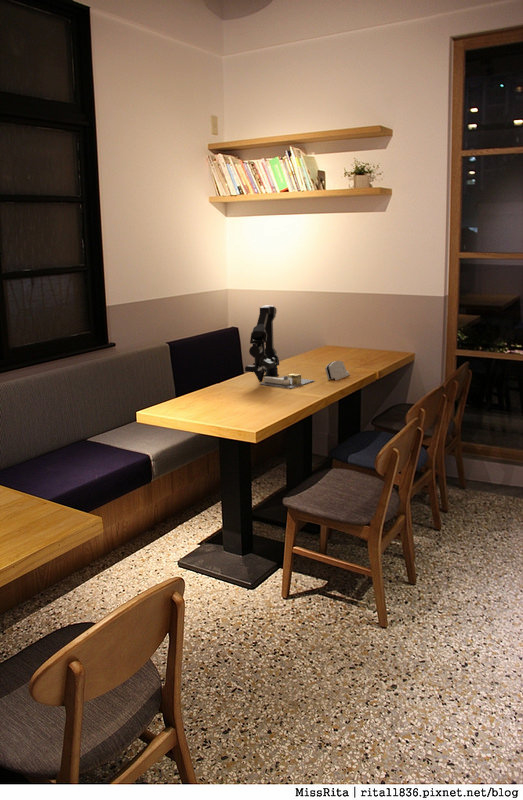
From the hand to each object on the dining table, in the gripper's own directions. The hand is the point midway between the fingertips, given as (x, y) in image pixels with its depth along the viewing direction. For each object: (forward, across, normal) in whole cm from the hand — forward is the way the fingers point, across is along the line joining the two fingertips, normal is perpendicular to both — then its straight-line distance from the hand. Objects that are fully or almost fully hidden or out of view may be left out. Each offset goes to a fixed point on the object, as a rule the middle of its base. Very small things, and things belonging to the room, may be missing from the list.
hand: (260, 382), depth 368 cm
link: (+1, +6, -7) cm, 9 cm away
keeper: (+2, +11, -14) cm, 18 cm away
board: (+2, +12, -9) cm, 15 cm away
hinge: (+2, +37, -24) cm, 44 cm away
